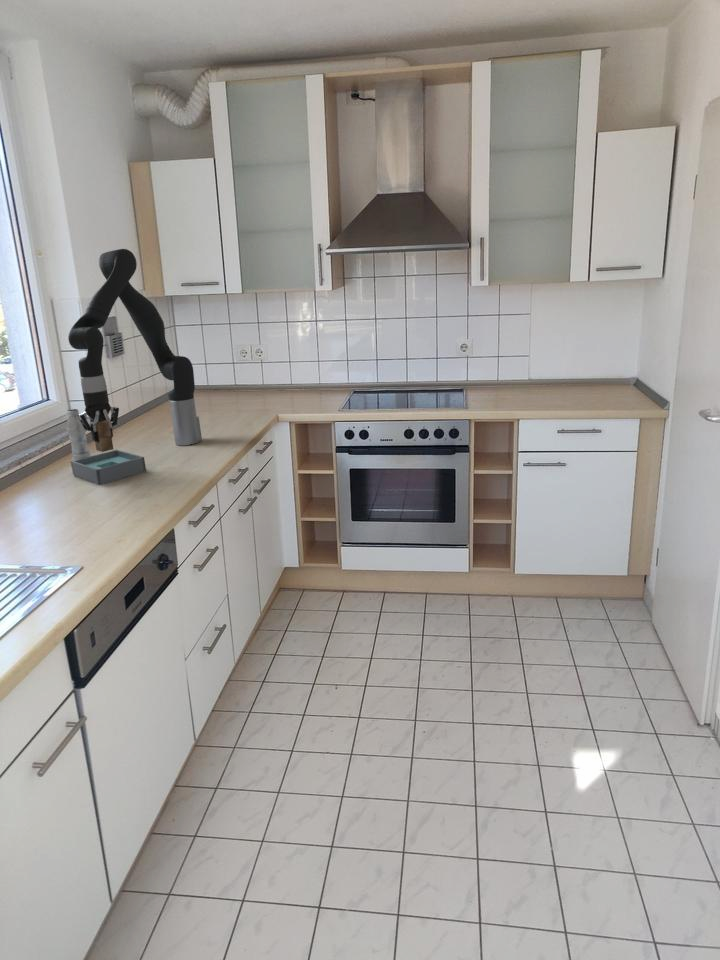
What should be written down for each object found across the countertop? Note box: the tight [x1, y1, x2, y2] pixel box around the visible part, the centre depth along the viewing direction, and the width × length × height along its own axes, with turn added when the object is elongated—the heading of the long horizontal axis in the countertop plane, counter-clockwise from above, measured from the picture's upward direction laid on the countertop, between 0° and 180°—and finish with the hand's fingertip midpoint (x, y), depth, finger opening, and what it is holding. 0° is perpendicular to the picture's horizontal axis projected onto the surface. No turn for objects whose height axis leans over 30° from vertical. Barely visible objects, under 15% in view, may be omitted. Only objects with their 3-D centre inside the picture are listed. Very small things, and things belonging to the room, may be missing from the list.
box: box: [70, 449, 147, 486], centre depth 237 cm, size 17×18×5 cm
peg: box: [93, 419, 114, 453], centre depth 234 cm, size 4×4×10 cm
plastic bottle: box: [65, 408, 92, 461], centre depth 247 cm, size 6×7×20 cm
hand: (103, 440), depth 235 cm, fingers closed on peg, 4 cm apart
